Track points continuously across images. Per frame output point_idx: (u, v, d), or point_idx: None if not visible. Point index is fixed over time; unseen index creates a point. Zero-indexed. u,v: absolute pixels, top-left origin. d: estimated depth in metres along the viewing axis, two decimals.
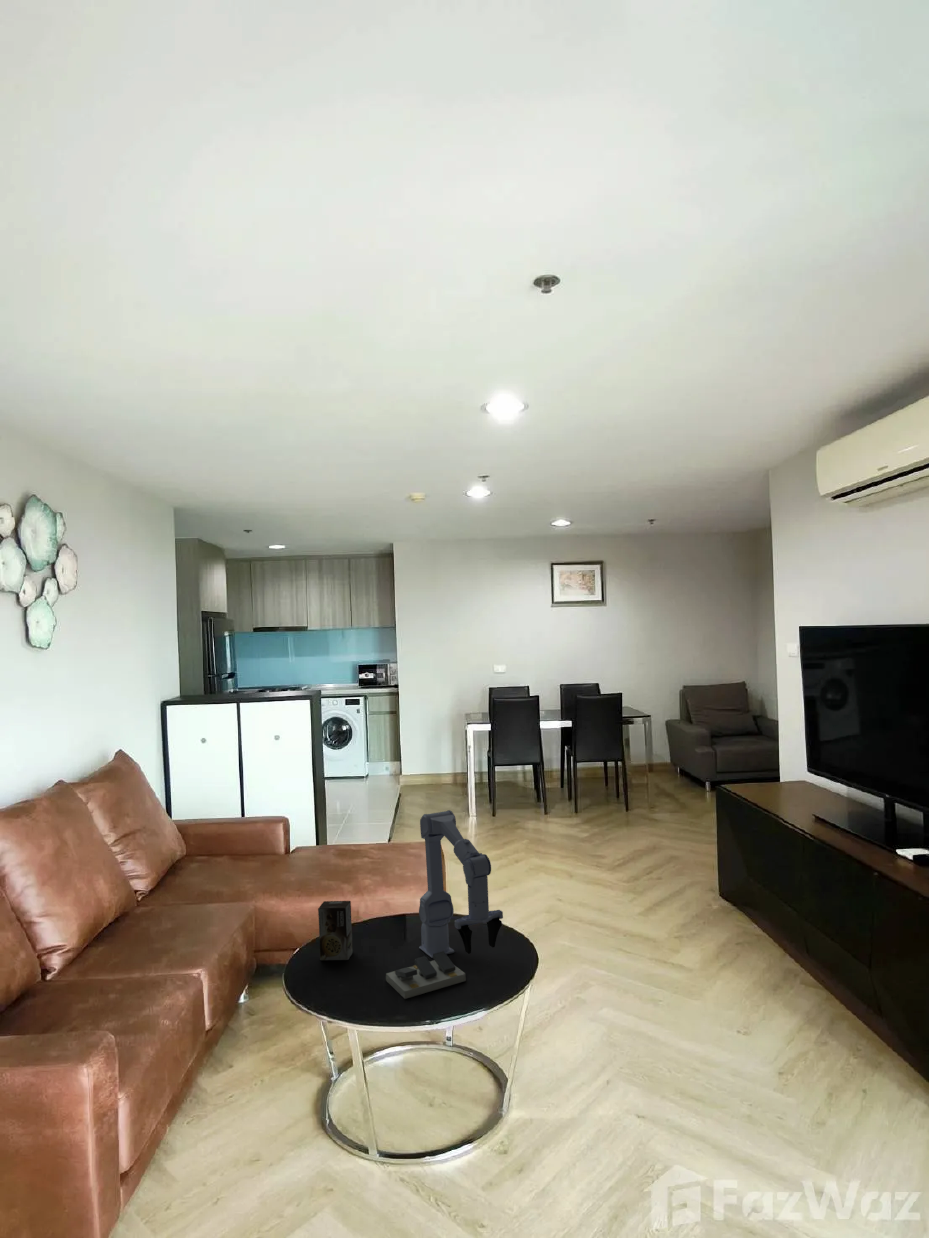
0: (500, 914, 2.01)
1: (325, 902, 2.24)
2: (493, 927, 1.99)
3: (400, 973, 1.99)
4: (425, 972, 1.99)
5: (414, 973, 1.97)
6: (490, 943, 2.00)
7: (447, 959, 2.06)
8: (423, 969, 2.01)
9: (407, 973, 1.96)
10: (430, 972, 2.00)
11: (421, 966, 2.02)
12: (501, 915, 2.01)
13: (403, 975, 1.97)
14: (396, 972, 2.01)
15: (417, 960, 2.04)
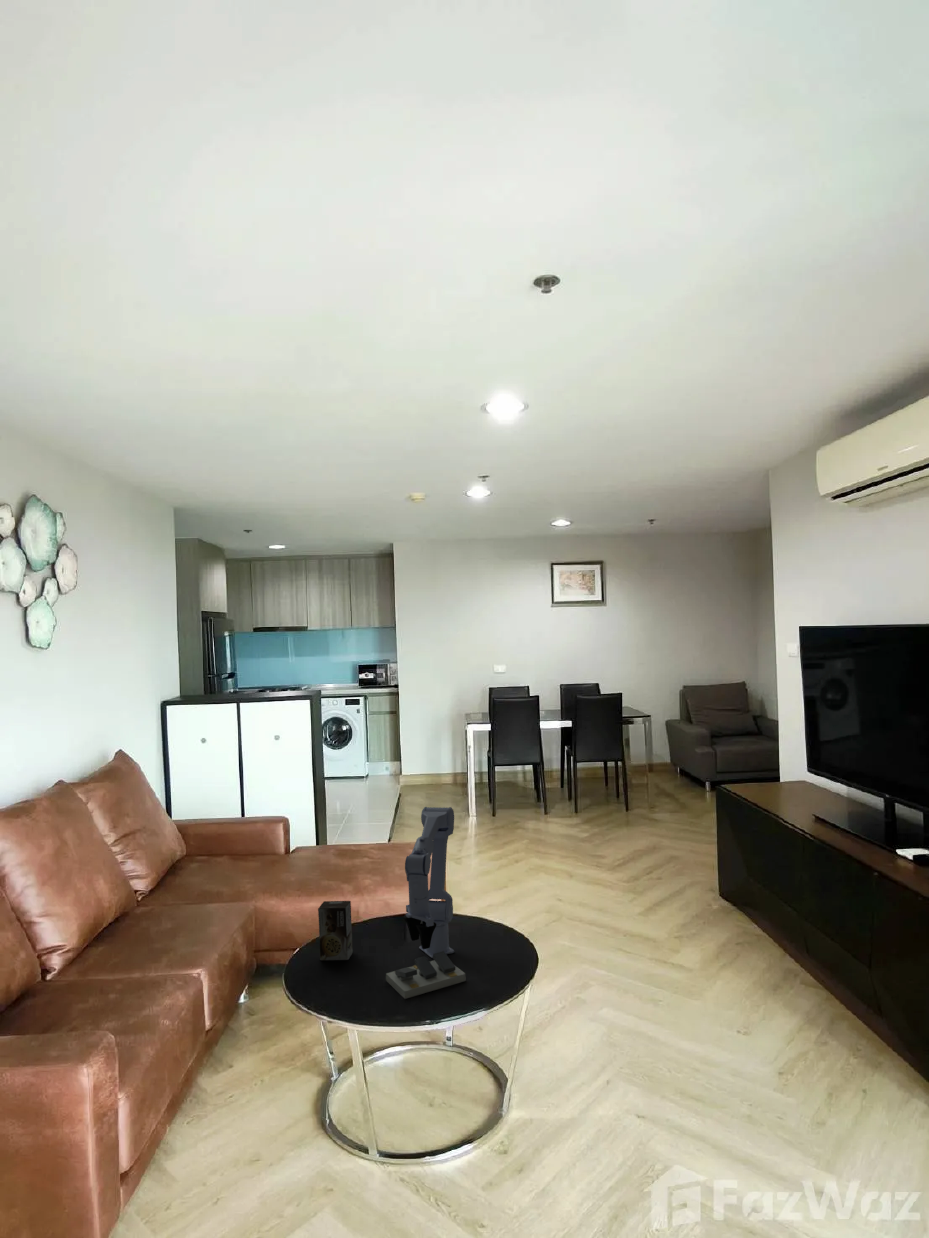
0: (425, 921, 2.00)
1: (325, 902, 2.24)
2: None
3: (400, 973, 1.99)
4: (425, 972, 1.99)
5: (414, 973, 1.97)
6: None
7: (447, 959, 2.06)
8: (423, 969, 2.01)
9: (407, 973, 1.96)
10: (430, 972, 2.00)
11: (421, 966, 2.02)
12: (426, 923, 1.99)
13: (403, 975, 1.97)
14: (396, 972, 2.01)
15: (417, 960, 2.04)
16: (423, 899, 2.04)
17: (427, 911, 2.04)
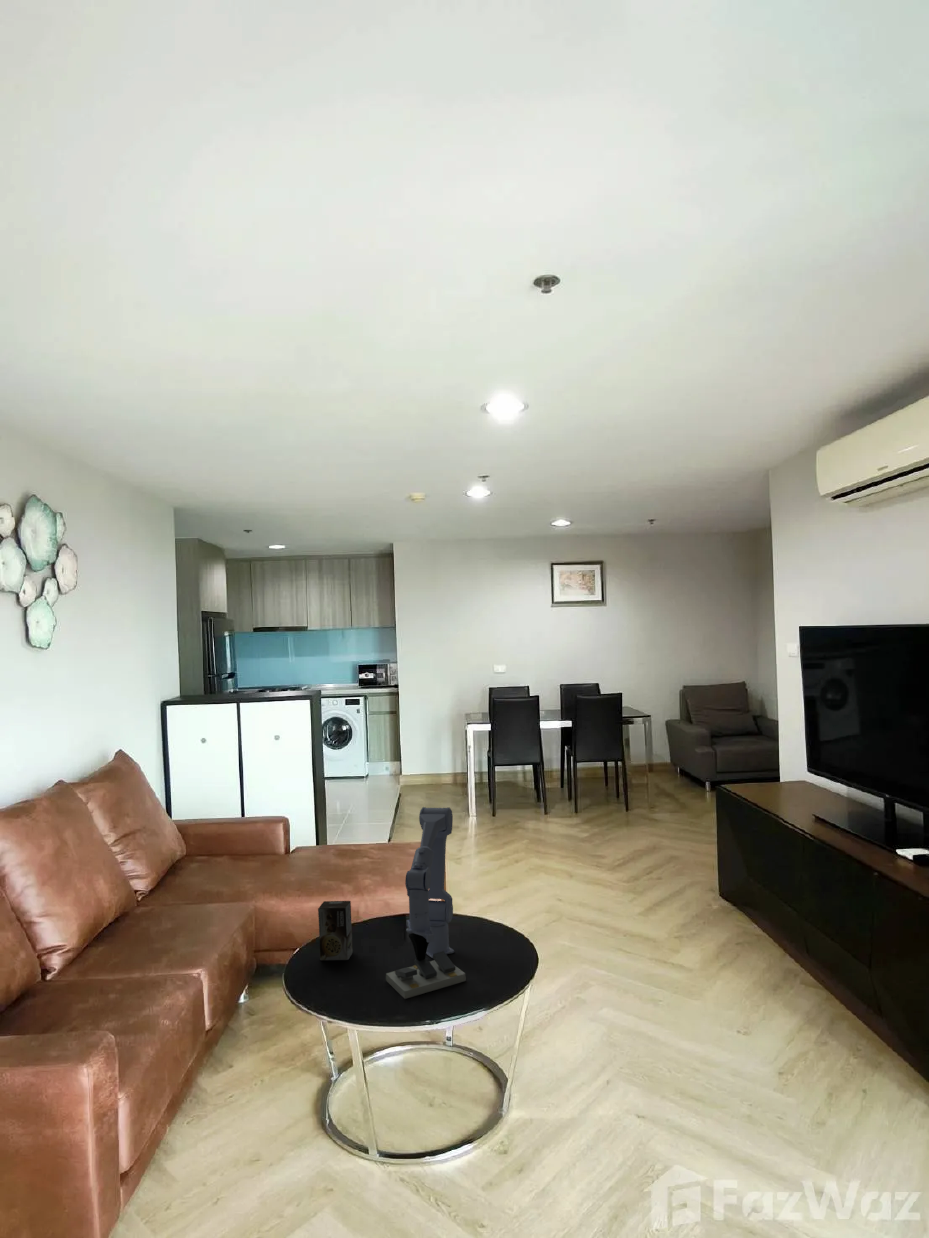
0: (426, 937, 1.99)
1: (325, 902, 2.24)
2: None
3: (400, 973, 1.99)
4: (425, 972, 1.99)
5: (414, 973, 1.97)
6: None
7: (447, 959, 2.06)
8: (423, 969, 2.01)
9: (407, 973, 1.96)
10: (430, 972, 2.00)
11: (421, 966, 2.02)
12: (427, 938, 1.99)
13: (403, 975, 1.97)
14: (396, 972, 2.01)
15: (417, 960, 2.04)
16: (423, 914, 2.03)
17: (427, 926, 2.04)
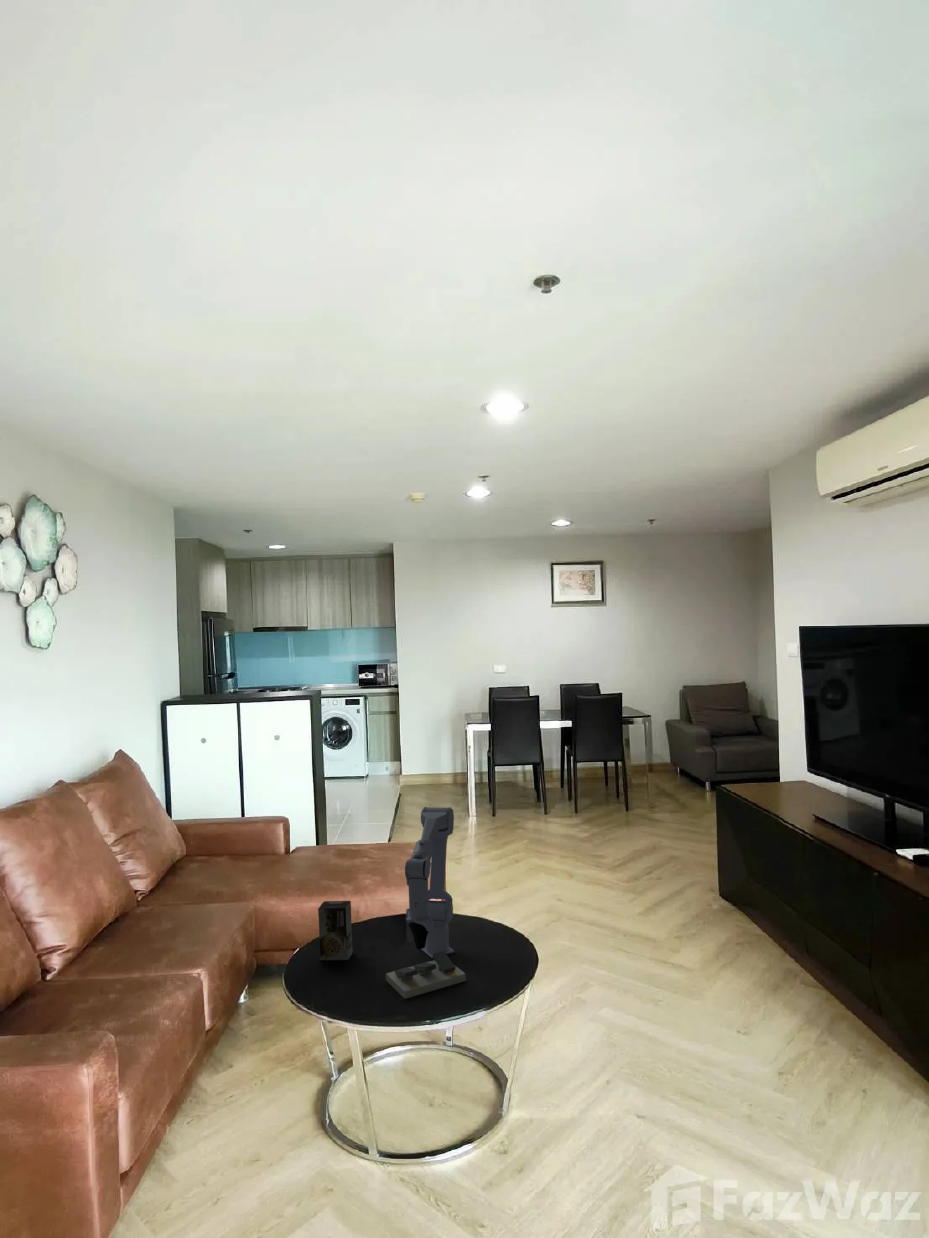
0: (426, 925, 2.00)
1: (325, 902, 2.24)
2: None
3: (400, 973, 1.99)
4: (424, 966, 2.00)
5: (414, 973, 1.97)
6: None
7: (447, 959, 2.06)
8: (422, 966, 2.01)
9: (407, 973, 1.96)
10: (429, 965, 2.00)
11: (420, 965, 2.02)
12: (426, 927, 1.99)
13: (403, 975, 1.97)
14: (396, 972, 2.01)
15: (417, 965, 2.05)
16: (423, 903, 2.04)
17: (427, 915, 2.04)
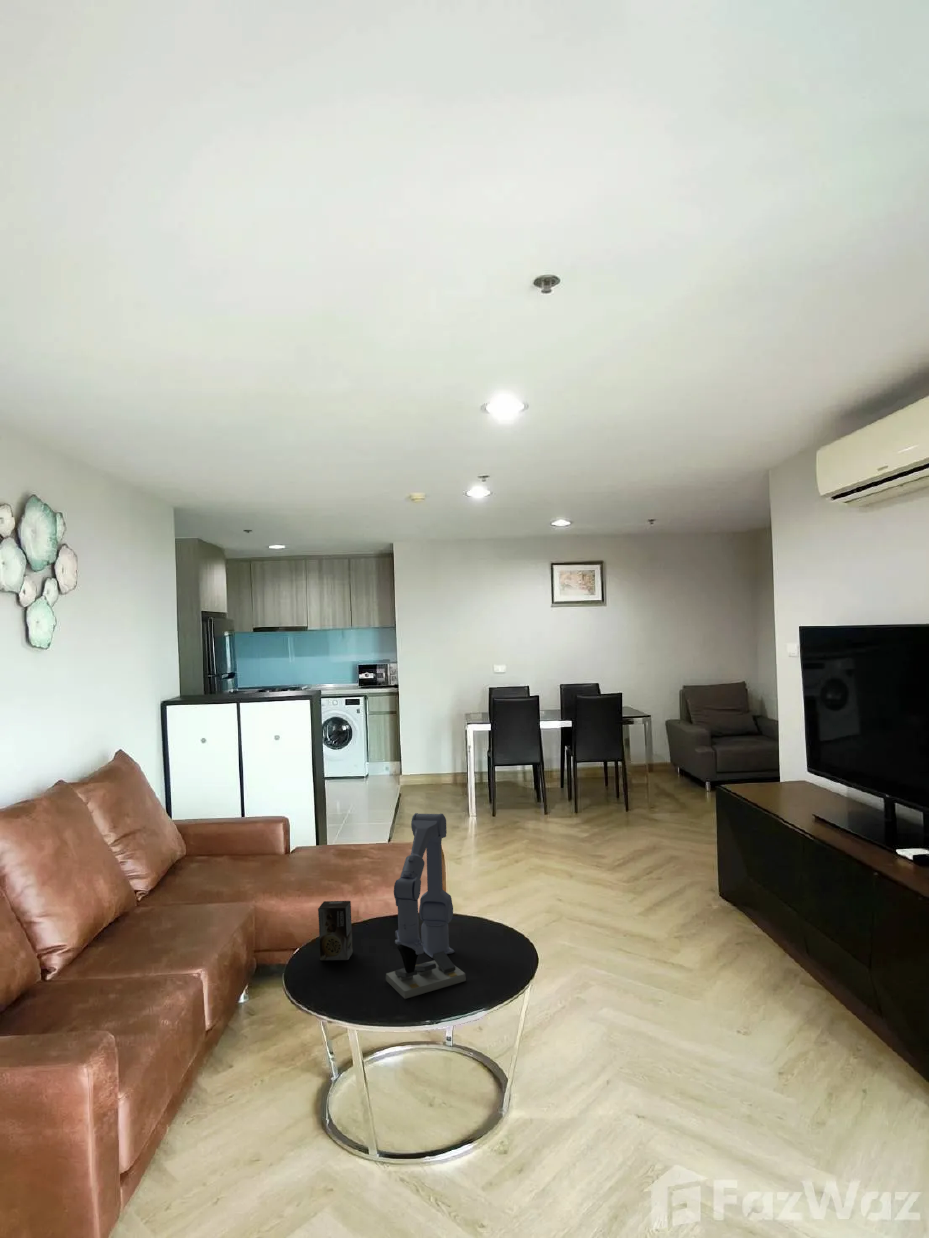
0: (415, 949, 1.92)
1: (325, 902, 2.24)
2: None
3: (400, 973, 1.99)
4: (424, 966, 2.00)
5: (414, 973, 1.97)
6: None
7: (447, 959, 2.06)
8: (422, 966, 2.01)
9: (407, 973, 1.96)
10: (429, 965, 2.00)
11: (420, 965, 2.02)
12: (416, 950, 1.91)
13: (403, 975, 1.97)
14: (396, 972, 2.01)
15: (417, 965, 2.04)
16: (413, 925, 1.96)
17: (417, 938, 1.96)
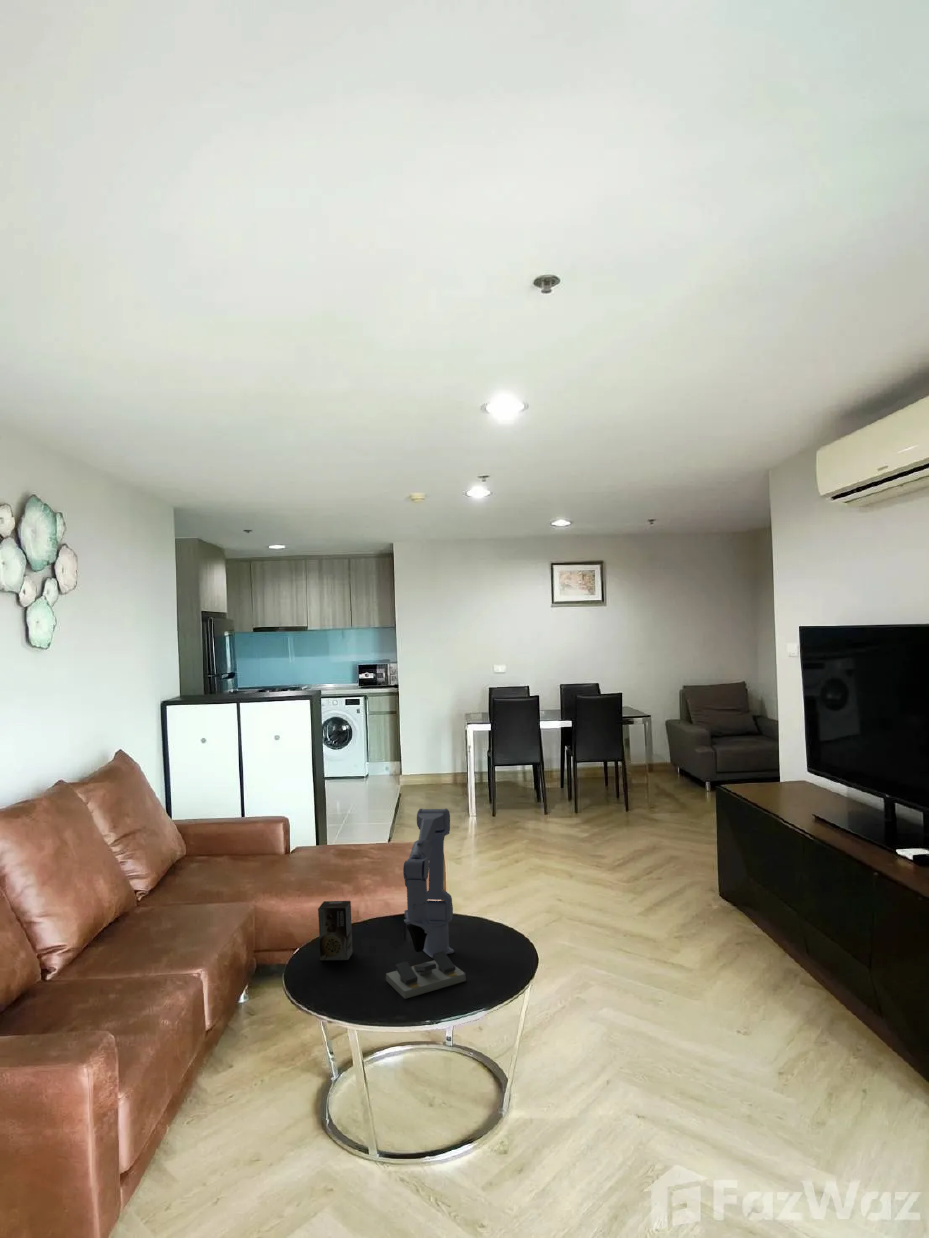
0: (424, 928, 1.95)
1: (325, 902, 2.24)
2: None
3: (400, 974, 1.99)
4: (424, 966, 2.00)
5: (414, 980, 1.97)
6: None
7: (447, 959, 2.06)
8: (422, 966, 2.01)
9: (408, 980, 1.96)
10: (429, 965, 2.00)
11: (420, 965, 2.02)
12: (425, 929, 1.94)
13: (403, 979, 1.97)
14: (396, 967, 2.01)
15: (417, 965, 2.04)
16: (422, 905, 1.99)
17: (426, 917, 2.00)
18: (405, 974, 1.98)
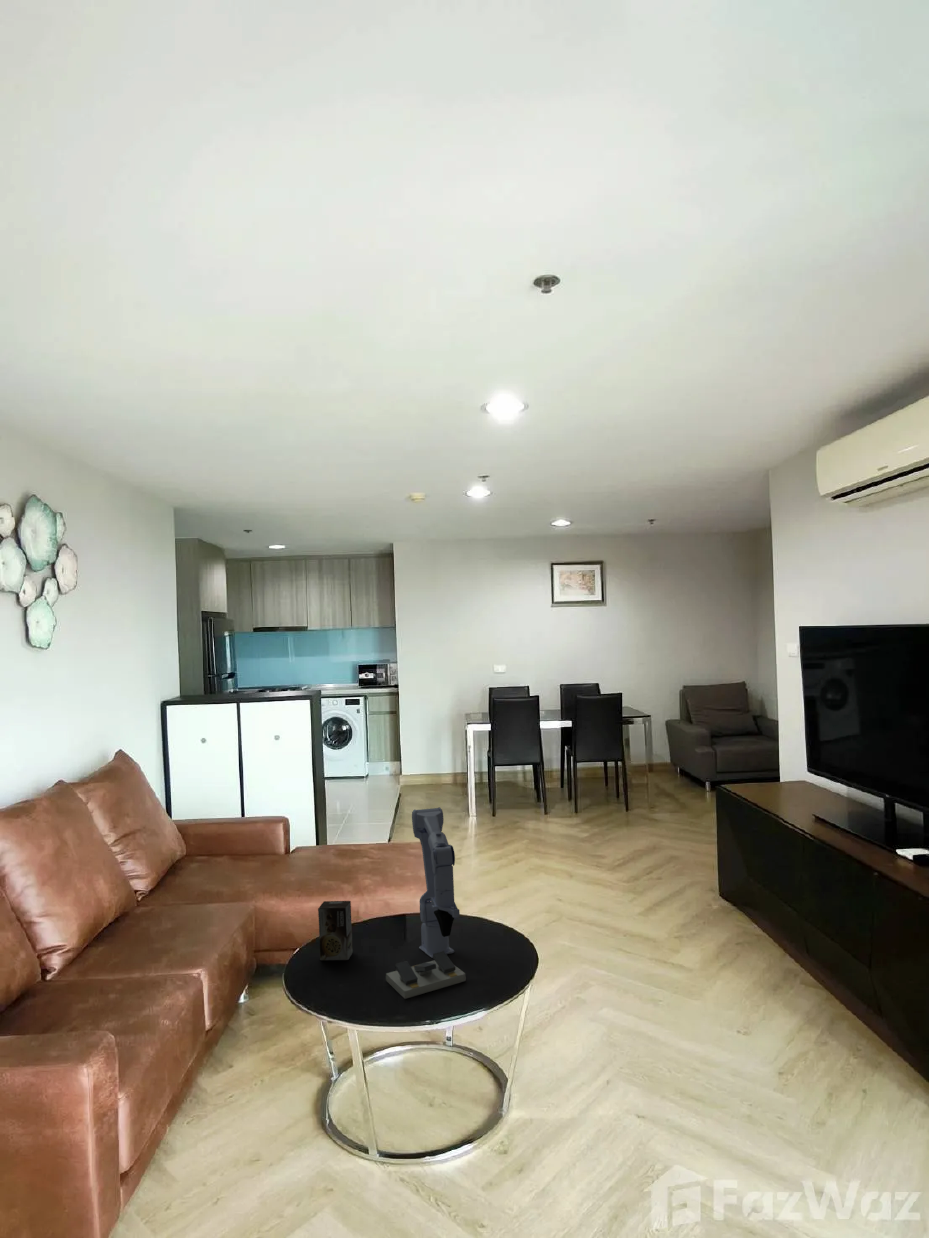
0: (452, 912, 2.03)
1: (325, 902, 2.24)
2: None
3: (400, 974, 1.99)
4: (424, 966, 2.00)
5: (414, 981, 1.97)
6: None
7: (447, 959, 2.06)
8: (422, 966, 2.01)
9: (408, 981, 1.96)
10: (429, 965, 2.00)
11: (420, 965, 2.02)
12: (452, 914, 2.02)
13: (403, 980, 1.97)
14: (396, 967, 2.01)
15: (417, 965, 2.04)
16: (449, 891, 2.07)
17: (453, 903, 2.07)
18: (405, 974, 1.98)
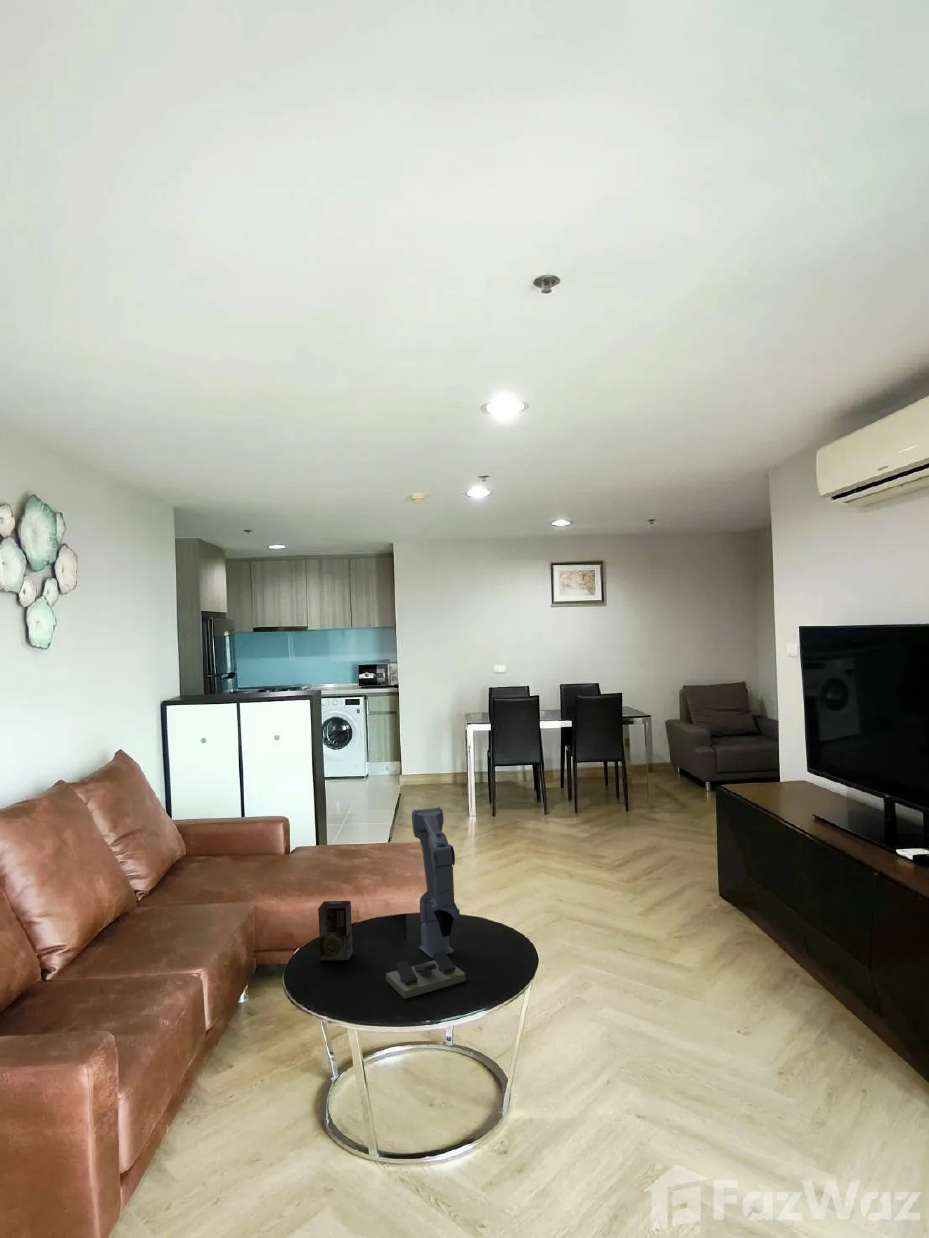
0: (452, 912, 2.03)
1: (325, 902, 2.24)
2: None
3: (400, 974, 1.99)
4: (424, 966, 2.00)
5: (414, 981, 1.97)
6: None
7: (447, 959, 2.06)
8: (422, 966, 2.01)
9: (408, 981, 1.96)
10: (429, 965, 2.00)
11: (420, 965, 2.02)
12: (452, 914, 2.02)
13: (403, 980, 1.97)
14: (396, 967, 2.01)
15: (417, 965, 2.04)
16: (449, 891, 2.07)
17: (453, 903, 2.07)
18: (405, 975, 1.98)
